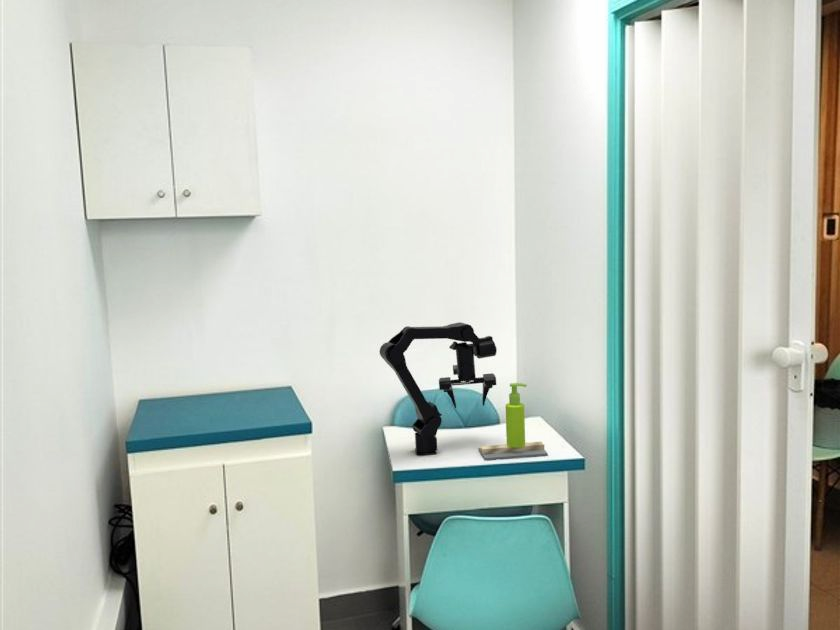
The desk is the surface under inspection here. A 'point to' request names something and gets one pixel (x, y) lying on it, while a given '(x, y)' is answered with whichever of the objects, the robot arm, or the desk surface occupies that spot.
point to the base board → (514, 455)
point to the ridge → (511, 448)
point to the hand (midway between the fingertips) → (469, 406)
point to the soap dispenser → (515, 419)
